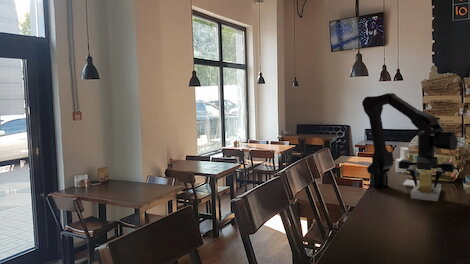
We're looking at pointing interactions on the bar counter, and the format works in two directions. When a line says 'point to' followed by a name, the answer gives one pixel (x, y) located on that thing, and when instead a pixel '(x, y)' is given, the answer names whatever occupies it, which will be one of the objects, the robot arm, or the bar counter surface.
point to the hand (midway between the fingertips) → (425, 187)
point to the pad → (409, 183)
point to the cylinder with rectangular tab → (402, 156)
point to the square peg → (425, 182)
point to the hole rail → (426, 193)
